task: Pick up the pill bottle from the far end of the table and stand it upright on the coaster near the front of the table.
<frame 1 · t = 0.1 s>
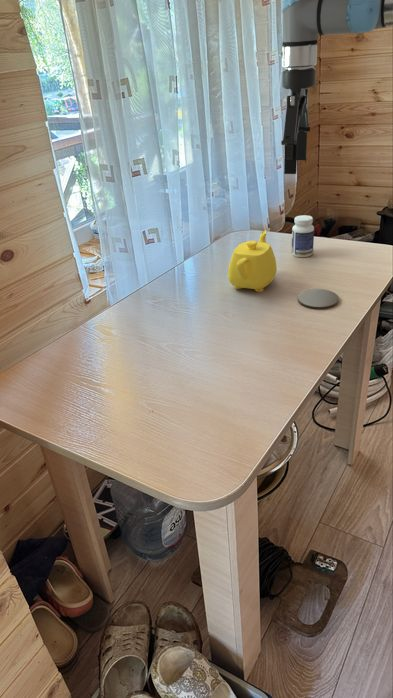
hand: (295, 166, 125), 23 cm above the table, tool pointing down, fingers open, 13 cm apart
coaster: (317, 299, 116), on the table
pill bottle: (302, 254, 139), on the table
teapot: (253, 283, 126), on the table
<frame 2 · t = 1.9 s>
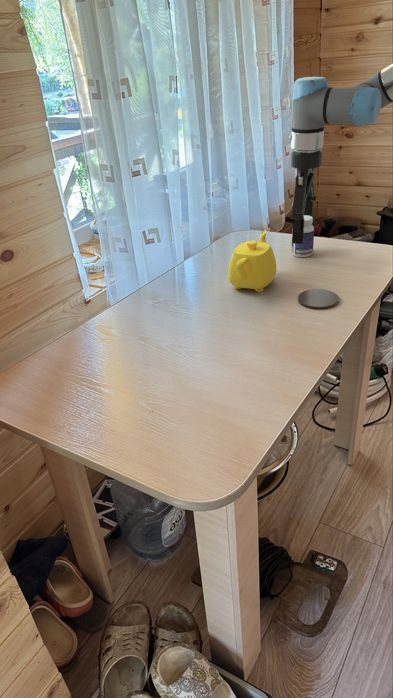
hand: (302, 233, 136), 6 cm above the table, tool pointing down, fingers open, 13 cm apart
nothing on the table moved.
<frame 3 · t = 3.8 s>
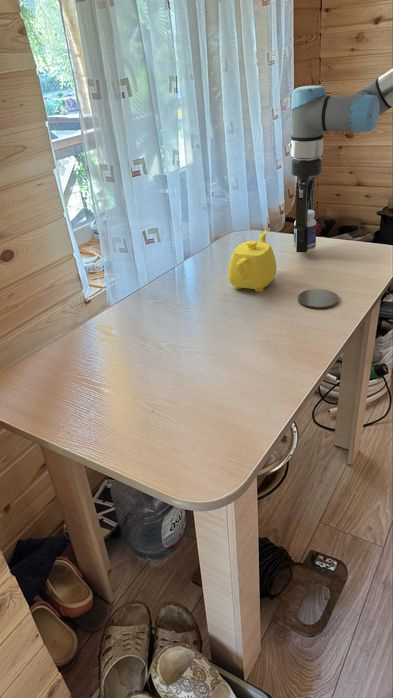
hand: (303, 247, 137), 2 cm above the table, tool pointing down, fingers closed on pill bottle, 6 cm apart
pill bottle: (304, 249, 138), point 1 cm above the table, touching gripper
everything else where it was.
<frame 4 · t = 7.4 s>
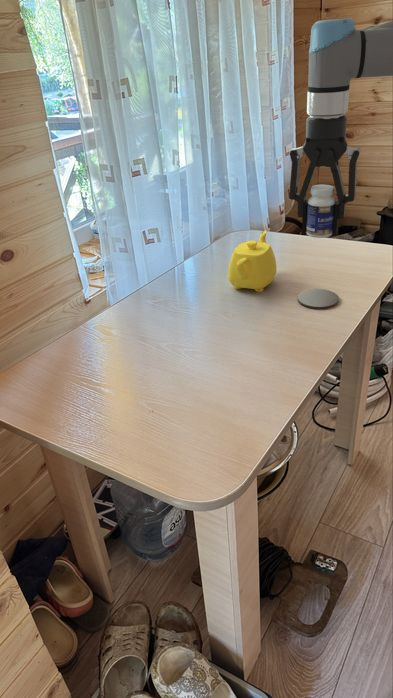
hand: (319, 232, 110), 15 cm above the table, tool pointing down, fingers closed on pill bottle, 6 cm apart
pill bottle: (319, 235, 110), point 14 cm above the table, touching gripper
everything else where it was.
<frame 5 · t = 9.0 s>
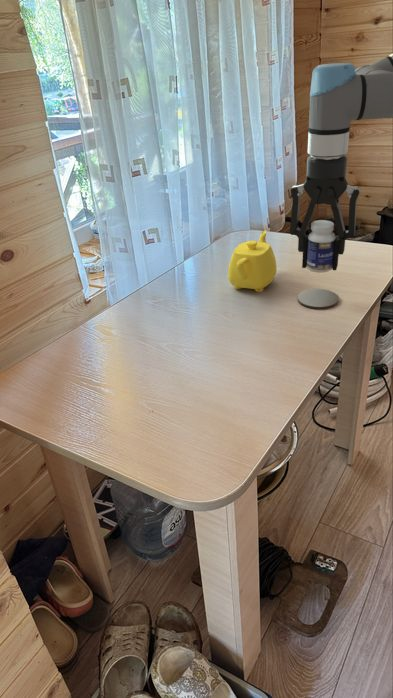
hand: (319, 266, 111), 8 cm above the table, tool pointing down, fingers closed on pill bottle, 6 cm apart
pill bottle: (319, 268, 111), point 8 cm above the table, touching gripper
everything else where it was.
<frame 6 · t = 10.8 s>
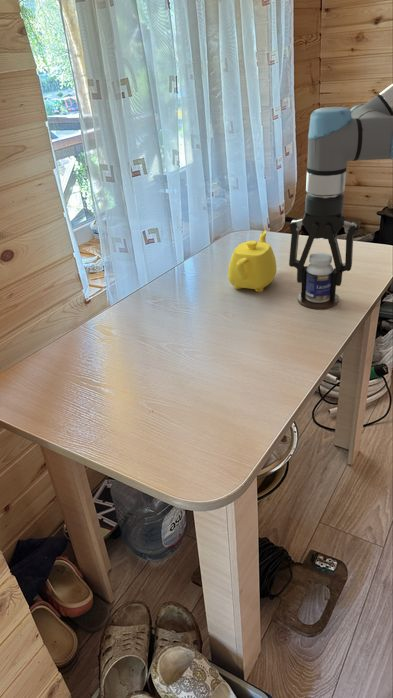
hand: (318, 296, 115), 1 cm above the table, tool pointing down, fingers closed on pill bottle, 6 cm apart
pill bottle: (317, 298, 115), resting on coaster, touching gripper
everything else where it was.
when the fingers open (1 cm above the table, at t = 10.9 s): pill bottle stays where it is, resting on coaster.
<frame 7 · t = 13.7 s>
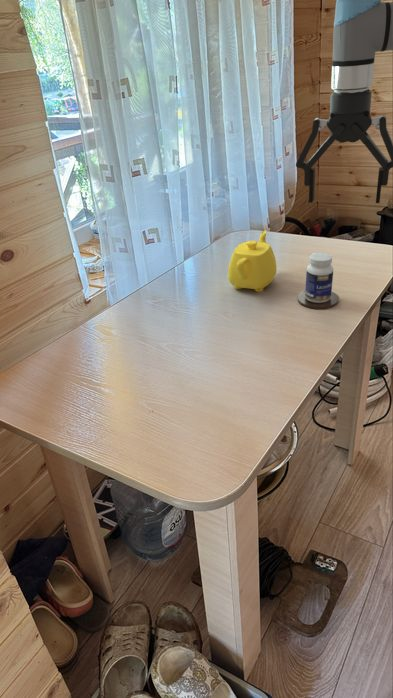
hand: (343, 201, 109), 20 cm above the table, tool pointing down, fingers open, 13 cm apart
pill bottle: (317, 298, 115), resting on coaster
everything else where it was.
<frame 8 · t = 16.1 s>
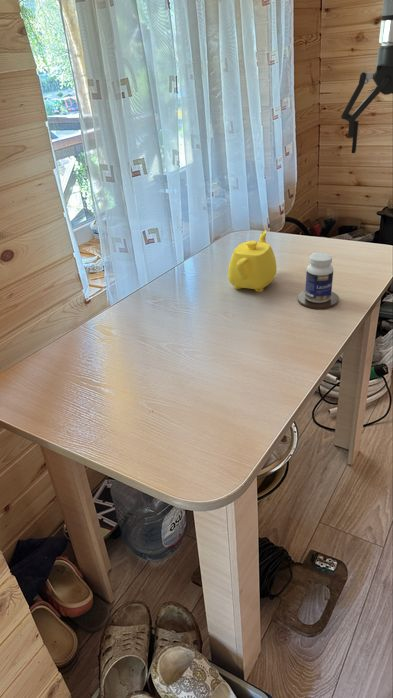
hand: (384, 152, 117), 27 cm above the table, tool pointing down, fingers open, 13 cm apart
nothing on the table moved.
at the end: pill bottle 0.2 cm off-centre on the coaster, point 0.4 cm above the coaster's base; pill bottle tilted 0°; the gripper is holding nothing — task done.
